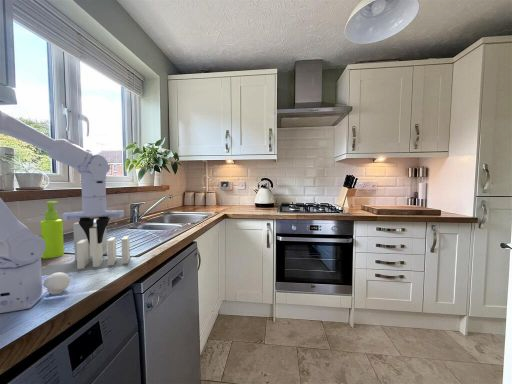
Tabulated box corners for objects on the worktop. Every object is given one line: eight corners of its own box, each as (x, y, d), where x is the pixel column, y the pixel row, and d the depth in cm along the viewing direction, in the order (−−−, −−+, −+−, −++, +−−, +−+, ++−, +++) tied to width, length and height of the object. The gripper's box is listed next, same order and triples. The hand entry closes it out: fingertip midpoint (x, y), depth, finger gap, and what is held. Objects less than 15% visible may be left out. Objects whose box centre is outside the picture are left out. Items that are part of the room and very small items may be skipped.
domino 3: (99, 266, 73) (98, 241, 72) (93, 267, 72) (92, 241, 72) (102, 261, 77) (101, 238, 76) (97, 262, 76) (96, 238, 76)
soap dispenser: (68, 252, 88) (65, 200, 87) (59, 258, 82) (56, 201, 81) (49, 253, 86) (46, 200, 85) (38, 260, 80) (35, 202, 79)
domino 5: (127, 263, 75) (127, 239, 75) (122, 263, 75) (121, 239, 74) (129, 258, 80) (129, 235, 79) (124, 259, 79) (123, 236, 79)
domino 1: (83, 268, 71) (82, 242, 71) (77, 269, 71) (76, 243, 70) (88, 263, 75) (87, 239, 75) (82, 263, 75) (81, 239, 74)
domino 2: (97, 255, 66) (96, 227, 65) (90, 256, 65) (89, 227, 65) (101, 251, 70) (100, 224, 70) (95, 251, 69) (94, 224, 69)
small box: (91, 253, 87) (89, 219, 86) (107, 253, 87) (106, 219, 86) (74, 260, 79) (72, 223, 78) (92, 260, 79) (91, 223, 78)
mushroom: (39, 294, 55) (39, 274, 55) (64, 286, 59) (64, 267, 59) (49, 300, 53) (49, 278, 53) (73, 291, 57) (73, 272, 57)
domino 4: (113, 264, 74) (112, 240, 74) (107, 265, 73) (107, 240, 73) (116, 260, 78) (115, 236, 78) (111, 260, 78) (110, 237, 77)
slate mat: (127, 266, 74) (127, 265, 74) (30, 278, 65) (30, 276, 65) (131, 257, 82) (131, 256, 82) (46, 267, 73) (46, 265, 73)
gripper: (124, 195, 73) (126, 237, 74) (68, 196, 68) (70, 241, 69) (120, 196, 67) (122, 243, 67) (58, 198, 61) (60, 248, 62)
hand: (95, 243), depth 68 cm, fingers closed on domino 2, 1 cm apart
